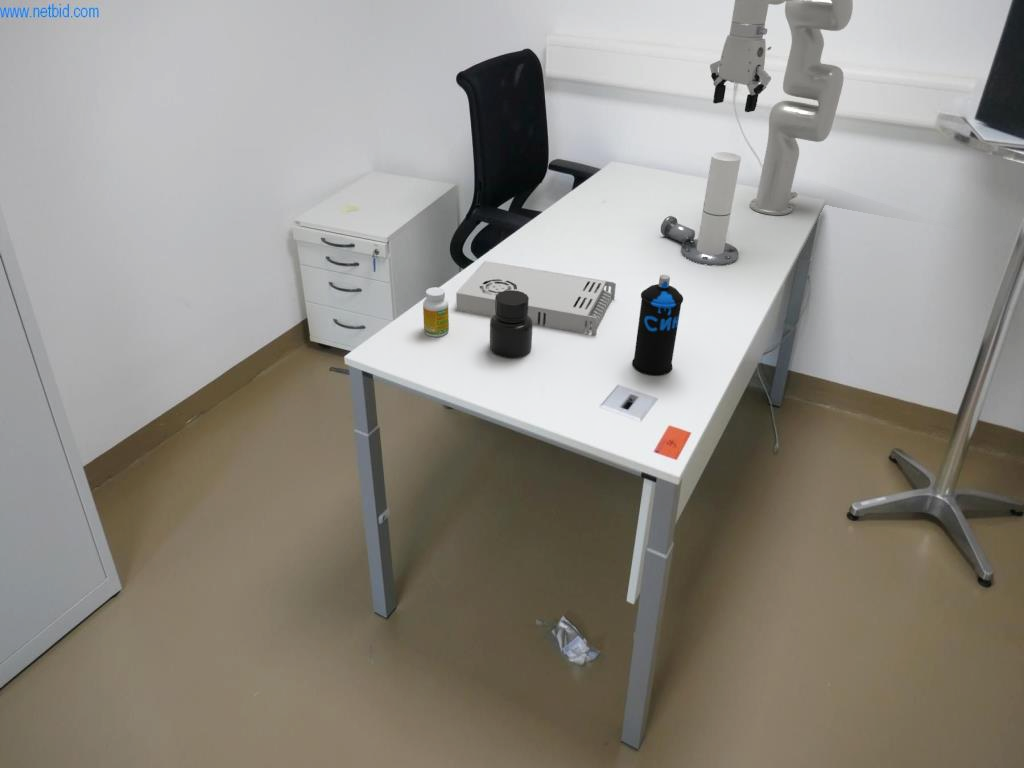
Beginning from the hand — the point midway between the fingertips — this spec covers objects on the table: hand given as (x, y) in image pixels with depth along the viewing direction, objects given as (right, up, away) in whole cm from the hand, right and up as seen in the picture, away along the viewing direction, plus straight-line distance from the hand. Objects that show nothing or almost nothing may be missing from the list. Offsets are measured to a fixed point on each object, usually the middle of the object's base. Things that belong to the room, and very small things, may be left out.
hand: (733, 106), depth 191 cm
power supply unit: (-48, -49, -7) cm, 69 cm away
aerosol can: (-25, -64, -29) cm, 74 cm away
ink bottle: (-54, -60, -25) cm, 84 cm away
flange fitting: (-3, -31, +23) cm, 38 cm away
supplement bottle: (-70, -56, -19) cm, 92 cm away
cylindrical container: (-1, -31, +20) cm, 37 cm away
